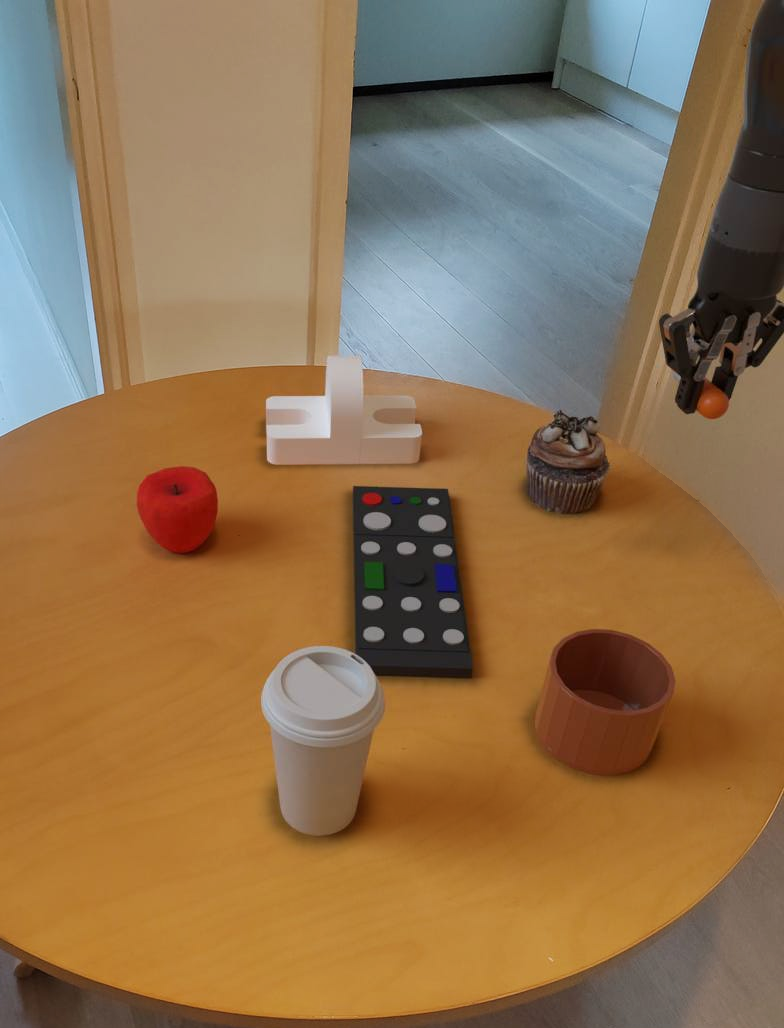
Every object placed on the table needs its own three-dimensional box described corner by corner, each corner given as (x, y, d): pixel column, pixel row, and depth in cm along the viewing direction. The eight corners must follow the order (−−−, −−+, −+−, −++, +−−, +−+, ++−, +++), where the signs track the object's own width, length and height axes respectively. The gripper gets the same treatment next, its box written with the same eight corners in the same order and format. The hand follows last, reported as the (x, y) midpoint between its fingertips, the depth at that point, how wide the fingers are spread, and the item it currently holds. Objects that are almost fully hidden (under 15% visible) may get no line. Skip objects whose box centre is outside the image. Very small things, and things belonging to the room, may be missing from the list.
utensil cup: (671, 726, 95) (695, 665, 89) (619, 795, 89) (641, 734, 83) (569, 674, 99) (586, 613, 94) (513, 736, 93) (528, 674, 88)
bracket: (410, 421, 134) (419, 340, 126) (420, 464, 126) (429, 380, 119) (265, 422, 133) (265, 340, 125) (267, 465, 126) (266, 381, 118)
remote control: (446, 499, 121) (448, 485, 120) (470, 679, 99) (473, 664, 97) (352, 496, 121) (353, 482, 120) (355, 675, 99) (356, 661, 97)
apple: (158, 511, 118) (153, 453, 113) (230, 524, 116) (228, 466, 111) (128, 557, 112) (121, 497, 106) (204, 572, 110) (200, 512, 105)
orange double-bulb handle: (717, 429, 99) (740, 406, 98) (703, 416, 98) (725, 393, 96) (673, 389, 105) (693, 368, 104) (658, 377, 103) (679, 355, 102)
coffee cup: (392, 832, 85) (408, 709, 75) (284, 865, 83) (285, 741, 72) (348, 751, 92) (357, 627, 82) (247, 779, 89) (244, 654, 79)
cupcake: (516, 512, 119) (531, 437, 112) (523, 467, 126) (537, 395, 119) (599, 524, 118) (619, 450, 111) (602, 479, 125) (620, 406, 118)
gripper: (709, 256, 85) (658, 437, 97) (850, 240, 88) (783, 416, 100) (661, 224, 90) (618, 399, 102) (795, 209, 93) (738, 380, 105)
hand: (700, 407), depth 101 cm, fingers closed on orange double-bulb handle, 2 cm apart
